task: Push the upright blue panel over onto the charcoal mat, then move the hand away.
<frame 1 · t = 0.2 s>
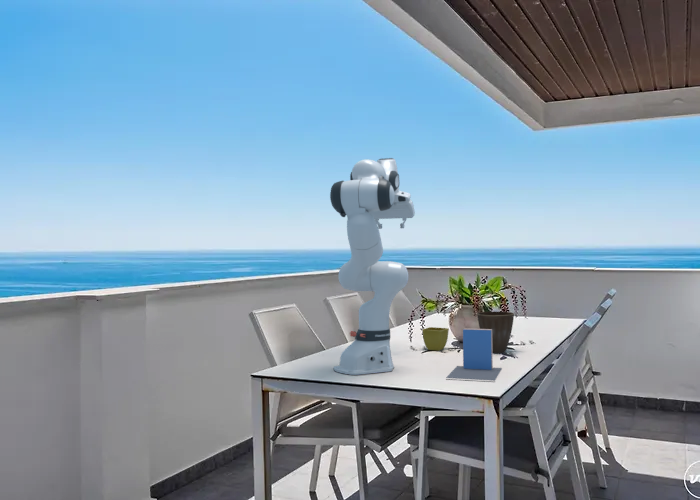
hand: (391, 228, 273), 52 cm above the table, tool tilted 20°, fingers open, 8 cm apart
plant pot: (495, 352, 269), on the table
upright blue panel: (477, 368, 230), point 1 cm above the table, touching charcoal mat
flower pot: (435, 350, 276), on the table
charcoal mat: (475, 374, 223), on the table
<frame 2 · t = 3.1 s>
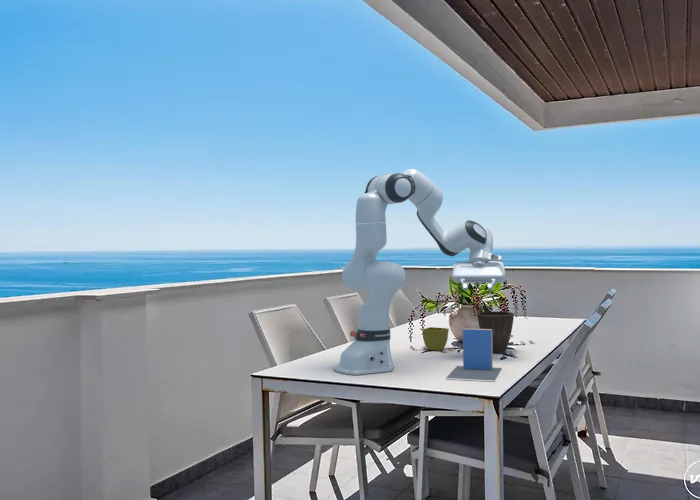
hand: (477, 289, 245), 28 cm above the table, tool tilted 45°, fingers open, 8 cm apart
nothing on the table moved.
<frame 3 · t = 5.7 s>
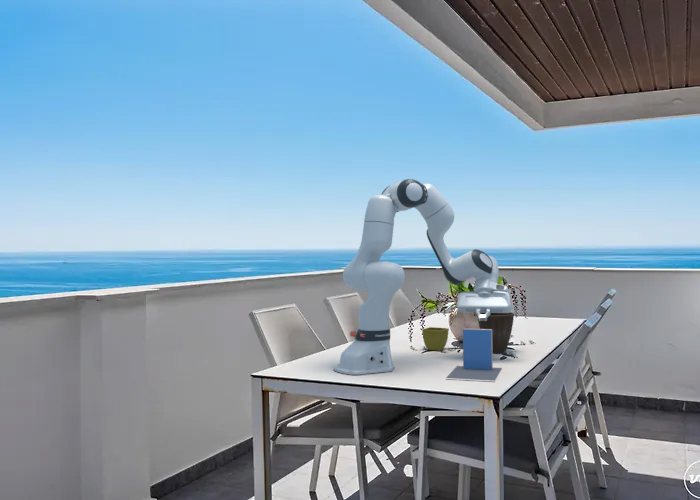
hand: (482, 319, 242), 16 cm above the table, tool tilted 45°, fingers closed
nothing on the table moved.
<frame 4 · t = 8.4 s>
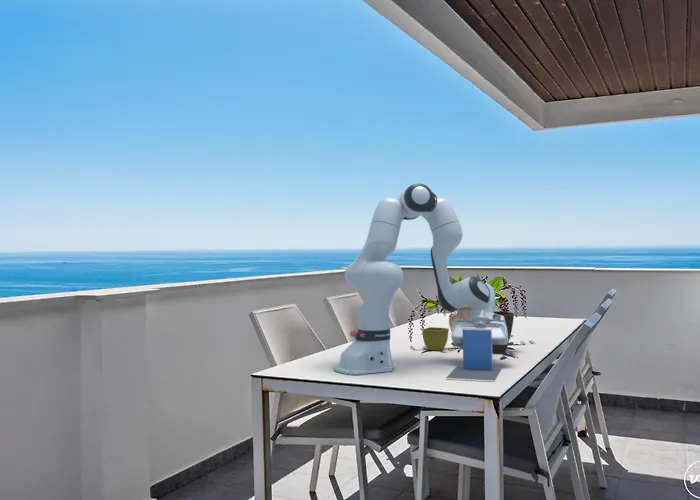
hand: (478, 351, 231), 6 cm above the table, tool tilted 45°, fingers closed, pressing on upright blue panel
upright blue panel: (477, 368, 230), point 1 cm above the table, touching charcoal mat, gripper
everything else where it was.
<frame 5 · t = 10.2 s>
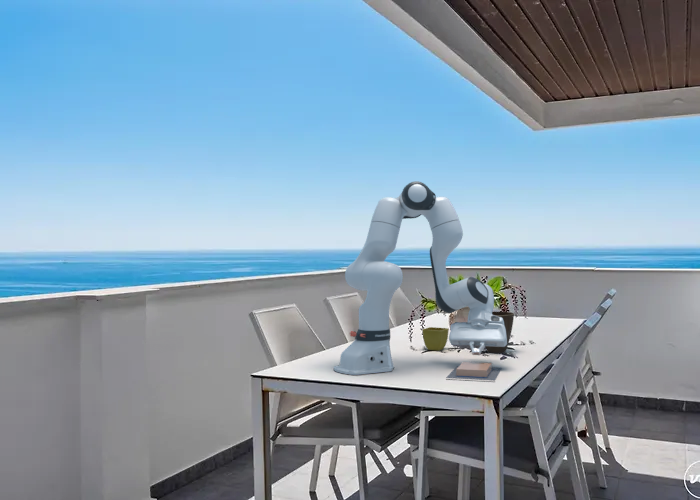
hand: (476, 354, 226), 6 cm above the table, tool tilted 45°, fingers closed
upright blue panel: (477, 365, 229), point 2 cm above the table, tilted 90°, touching charcoal mat
everything else where it was.
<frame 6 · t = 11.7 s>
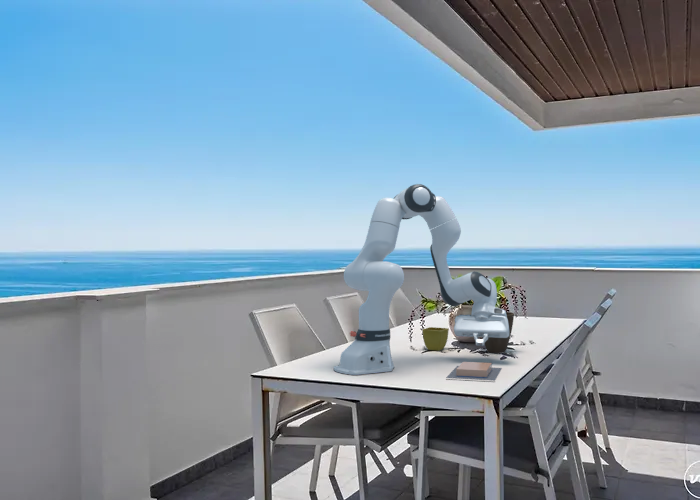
hand: (479, 344, 237), 8 cm above the table, tool tilted 45°, fingers closed
nothing on the table moved.
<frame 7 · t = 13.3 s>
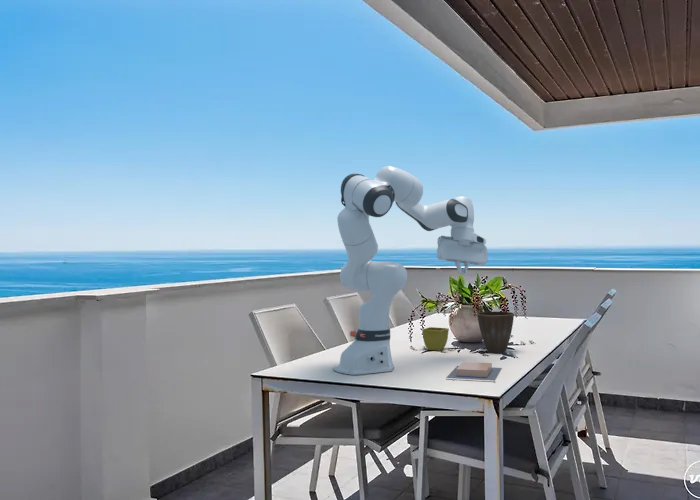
hand: (462, 273, 244), 34 cm above the table, tool tilted 15°, fingers closed
nothing on the table moved.
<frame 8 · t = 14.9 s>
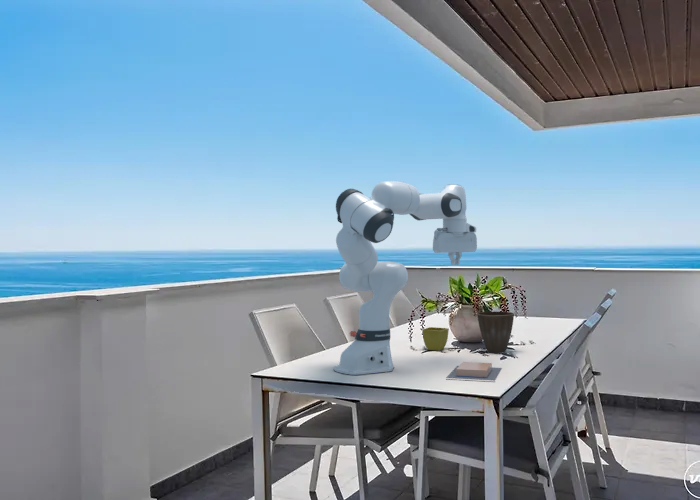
hand: (455, 264, 245), 37 cm above the table, tool pointing down, fingers closed
nothing on the table moved.
at the end: upright blue panel tilted 90°; upright blue panel inside the target area on the charcoal mat (2.1 cm from its centre), point 1.9 cm above the charcoal mat's base; upright blue panel touching charcoal mat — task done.
